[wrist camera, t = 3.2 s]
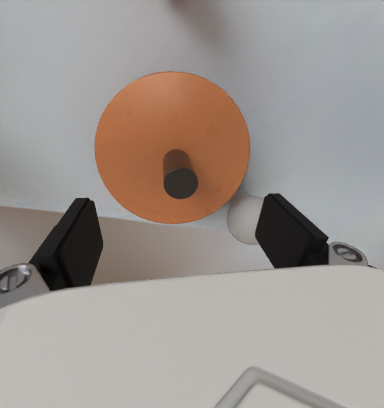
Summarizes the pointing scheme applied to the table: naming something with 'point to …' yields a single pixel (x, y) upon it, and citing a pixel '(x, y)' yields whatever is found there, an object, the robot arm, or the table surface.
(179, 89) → the lid
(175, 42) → the table surface
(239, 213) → the lightbulb
